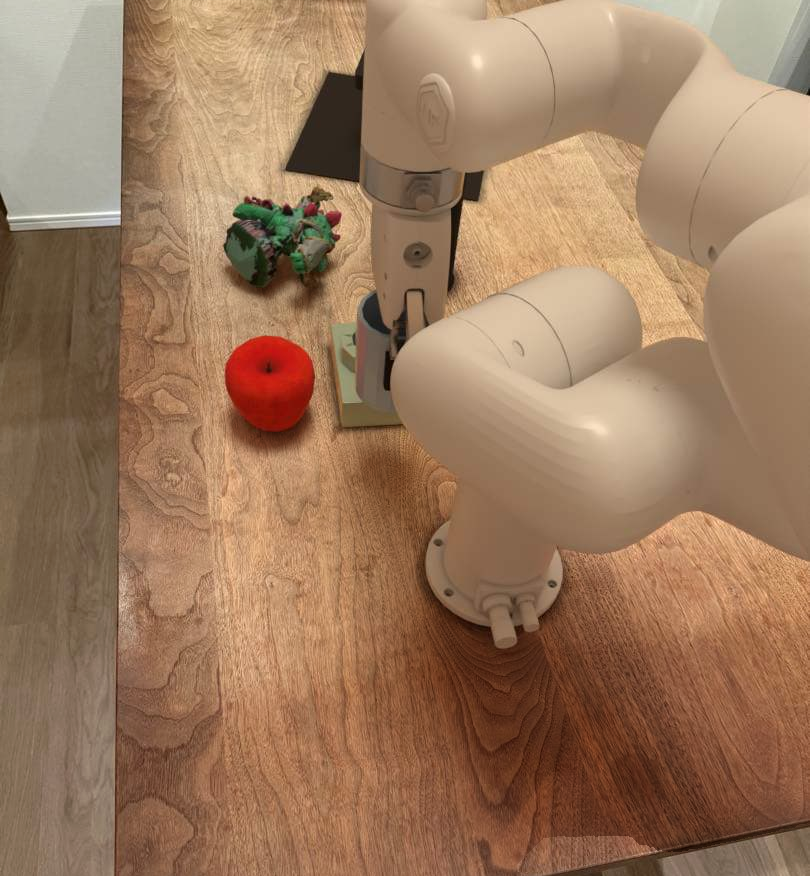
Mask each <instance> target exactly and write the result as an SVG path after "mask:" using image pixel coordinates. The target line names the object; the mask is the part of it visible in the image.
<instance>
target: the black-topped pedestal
mask: <svg viewBox="0 0 810 876" xmlns="http://www.w3.org/2000/svg"><path fill="white" fill-rule="evenodd" d="M364 52H365V48H364V49H363V51H362V54H361V56H360V59H359V61H358V64H357V66H356V69H355V71H354V75H353V74H345V73H339V72H332V71H328V72H327V74H326V76H325V79H324V81H323V83H322V86H321V87H320V89H319V92H318V95H317V97H316V99H315V101H314V103H313V105H312V108H311V110H310V112H309V114H308V116H307V119H306V121H305V124H304V125H303V128H302V130H301V132H300V134H299V137H298V139H297V141H296V143H295V145H294V148H293V150H292V153H291V154H290V157H289V159H288V160H287V163H286V166H285V167H284V170H286V171H293V172H298V173H299V172H300V173H304V174H311V175H318V176H323V177H330V178H335V179H342V180H348V181H355V182H360V153H361V129H362V102H363V76H364ZM484 172H485V170H482V171H479V172H471V173H467V177H466V184H465V192H464V199H466V200H473V201H479V200H480V199H479V198H480V194H481V188H482V183H483V182H482V181H483V177H484Z"/></svg>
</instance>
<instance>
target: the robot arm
mask: <svg viewBox="0 0 810 876" xmlns="http://www.w3.org/2000/svg"><path fill="white" fill-rule="evenodd" d="M364 33H365V34H364V49H365V52H364V76H363V102H362V129H361V153H360V181H358V182H359V184H358V185H359V189H360V191H361V193H362V195H363V197H365V199H367V201H368V202H370V203H371V218H370V263H371V269H372V275H373V281H374V286H375V290H376V292H377V297H378V302H379V306H380V311H381V316H382V320H383V323H384V324H385V325H386V326H387V327H388V328H389V351H386V352H385V365H384V377H383V386H384V390H386V391H391V394H392V399H393V403H394V406H395V409H396V411H397V413H398V415H399V417H400V419H401V421H402V423H403V424H402V425H403V427H404V428H405V429H406V431H407V432H408V434H409V435H410V436H411V438H412V439H413V440H414V441H415V442H416V443H417V444H418V446H419V447H420V448H421V449H422V450H423V451H424V452H425V453H426V454H428V455H429V456H430V457H431V458H432V459H433V460H434V461H435V462H437V463H438V464H439V465H440V466H442V467H443V468H445V469H446V470H447V471H449V473H451V474H452V475H453V476H455V477H456V478H457V483H456V488H455V492H454V499H453V502H452V509H451V514H450V519H448V520H447V521H446V522H444V523H443V524H441V525H440V527H439V528H438V529H437V530H436V531H435V532H434V533H433V535H432V537H431V538H430V540H429V542H428V546H427V548H426V549H427V550H426V553H425V562H424V566H425V575H426V579H427V581H428V585H429V586H430V588H431V590H432V592H433V594H434V596H435V597H436V598H437V599H438V601H439V602H440V603H441V604H442V605H443V606H444V607H445V608H447V609H448V610H449V611H450V612H451V613H453V614H454V615H456V616H458V617H459V618H461V619H463V620H465V621H468V622H470V623H473V624H474V625H475V624H476V625H479V626H483V627H488V628H490V630H491V634H492V639H493V644H494V646H495V648H497V649H508V648H512V647H514V646H515V645H516V644H517V643H518V638H517V633H516V630H515V627H519V626H522V627H523V630H524V632H525V633H532V632H533V633H534V632H536V631H537V630H539V629H540V627H541V626H540V623H539V618H540V617H541V616H542V615H543V614H544V613H546V611H548V610H549V609H550V608H551V607H552V605H553V603H554V602H555V601H556V599H557V597H558V594H559V592H560V590H561V587H562V583H563V575H564V567H563V563H562V557H561V555H560V553H559V550H558V547H559V548H561V549H565V550H567V551H571V552H575V553H578V554H585V555H605V554H611V553H616V552H619V551H622V550H624V549H627V548H629V547H631V546H633V545H635V544H638V543H639V542H641V541H642V540H644V539H645V538H647V537H649V536H650V535H652V534H653V533H655V532H657V530H659V529H661V528H663V526H665V525H667V524H668V523H670V522H671V521H672V520H674V519H675V518H677V517H678V516H680V515H683V514H686V513H694V512H701V513H704V514H707V515H708V516H709V515H710V516H712V517H714V518H716V519H718V520H720V521H722V522H724V523H726V524H728V525H730V526H732V527H733V528H735V529H737V530H739V531H741V532H743V533H745V534H747V535H749V536H751V537H752V538H755V539H757V540H758V541H760V542H762V543H764V544H765V545H767V546H770V547H772V548H774V549H776V550H777V551H780V552H782V553H784V554H786V555H789V556H792V557H794V558H796V559H799V560H803V561H805V562H809V563H810V95H807V94H804V93H801V92H798V91H794V90H793V89H789V88H785V87H783V86H779V85H774V84H771V83H769V82H765V81H762V80H759V79H756V78H752V77H751V76H746V75H744V74H742V73H740V72H737V70H736V68H735V66H734V65H733V63H732V62H731V60H730V59H729V57H728V56H727V55H726V53H724V51H723V50H721V49H720V47H719V46H718V45H716V43H715V42H714V41H713V40H712V38H710V37H709V36H708V35H707V34H706V33H705V32H704V31H702V30H701V29H700V28H698V27H697V26H695V25H694V24H692V23H690V22H687V21H685V20H682V19H680V18H678V17H675V16H671V15H668V14H665V13H662V12H658V11H654V10H650V9H646V8H643V7H639V6H634V5H631V4H628V3H624V2H620V1H616V0H559V1H555V2H551V3H546V4H542V5H539V6H534V7H532V8H528V9H525V10H522V11H518V12H515V13H511V14H509V15H504V16H501V17H499V18H497V17H496V18H488V1H487V0H366V5H365V30H364ZM588 132H591V133H597V134H602V135H604V136H605V135H606V136H608V137H611V138H614V139H617V140H619V141H622V142H624V143H628V144H630V145H633V146H635V147H637V148H640V149H643V150H644V153H643V156H642V160H641V164H640V167H639V170H638V175H637V180H636V187H635V211H636V215H637V219H638V223H639V226H640V229H641V230H642V232H643V234H644V235H645V237H646V238H647V239H648V240H649V242H651V243H652V244H653V245H655V246H656V247H658V248H659V249H661V250H663V251H665V252H667V253H669V254H671V255H673V256H676V257H678V258H680V259H683V260H685V261H687V262H689V263H691V264H694V265H696V266H698V267H700V268H702V269H704V270H707V271H709V274H708V278H707V282H706V285H705V290H704V294H703V298H702V305H703V306H702V311H703V312H702V313H703V314H702V315H703V317H702V318H703V319H702V320H703V330H704V334H705V339H706V341H705V340H702V339H698V338H694V337H687V336H676V337H669V338H665V339H661V340H659V341H656V342H654V343H653V342H652V343H651V344H649V345H646V346H644V347H643V338H644V337H643V324H642V317H641V313H640V310H639V307H638V305H637V303H636V301H635V299H634V297H633V296H632V294H631V292H630V290H629V289H628V288H627V287H626V286H625V285H624V284H623V282H621V281H620V280H619V279H617V278H616V276H614V275H613V274H611V273H609V272H608V271H605V270H603V269H600V268H598V267H593V266H590V265H580V264H579V265H565V266H560V267H556V268H552V269H549V270H544V271H542V272H540V273H537V274H534V275H533V276H529V277H528V278H525V279H523V280H520V281H518V282H517V283H514V284H512V285H510V286H508V287H506V288H504V289H502V290H499V291H497V292H495V293H493V294H490V295H489V296H487V297H486V298H485V299H483V300H480V301H478V302H476V303H473V304H472V305H469V306H467V307H465V308H462V309H461V310H459V311H457V312H453V313H452V314H449V315H447V316H446V307H447V298H448V297H447V295H448V291H447V286H448V275H449V263H450V246H451V208H452V207H453V206H454V205H455V204H457V203H458V201H459V200H460V198H461V195H462V190H463V183H464V176H465V172H467V173H471V172H479V171H482V170H484V171H486V170H489V169H492V168H494V167H496V166H499V165H502V164H504V163H508V162H509V161H513V160H515V159H518V158H521V157H523V156H526V155H528V154H530V153H533V152H535V151H538V150H540V149H543V148H546V147H548V146H550V145H554V144H556V143H559V142H562V141H564V140H568V139H570V138H573V137H576V136H579V135H581V134H585V133H588ZM404 311H405V318H399V316H400V315H401V313H402V312H404ZM425 317H426V318H427V321H428V323H429V326H428V327H426V328H425V324H426V323H425ZM398 329H406V341H405V343H400V344H398Z"/></svg>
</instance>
